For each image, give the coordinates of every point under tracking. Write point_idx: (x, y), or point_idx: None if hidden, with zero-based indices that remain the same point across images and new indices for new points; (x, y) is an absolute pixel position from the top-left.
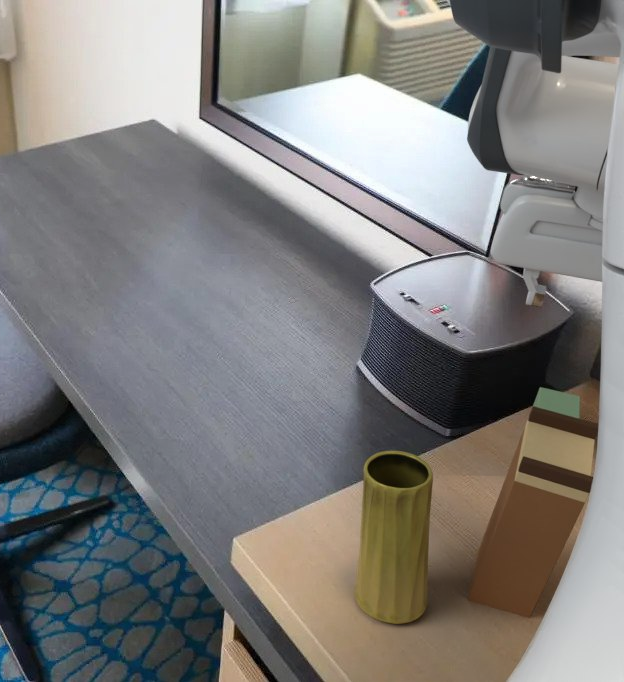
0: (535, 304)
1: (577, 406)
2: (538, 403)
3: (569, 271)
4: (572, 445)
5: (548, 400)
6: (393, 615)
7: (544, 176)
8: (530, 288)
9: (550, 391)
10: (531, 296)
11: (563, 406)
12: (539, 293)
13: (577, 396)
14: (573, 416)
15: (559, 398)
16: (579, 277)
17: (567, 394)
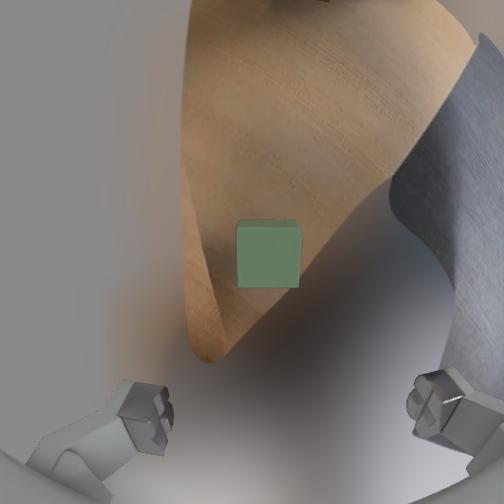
0: (438, 373)
1: (240, 259)
2: (300, 243)
3: (483, 493)
4: None
5: (285, 256)
6: None
7: None
8: (484, 396)
9: (282, 281)
10: (462, 384)
11: (261, 250)
12: (456, 398)
13: (241, 285)
14: (245, 229)
15: (268, 269)
16: (429, 498)
17: (256, 284)
